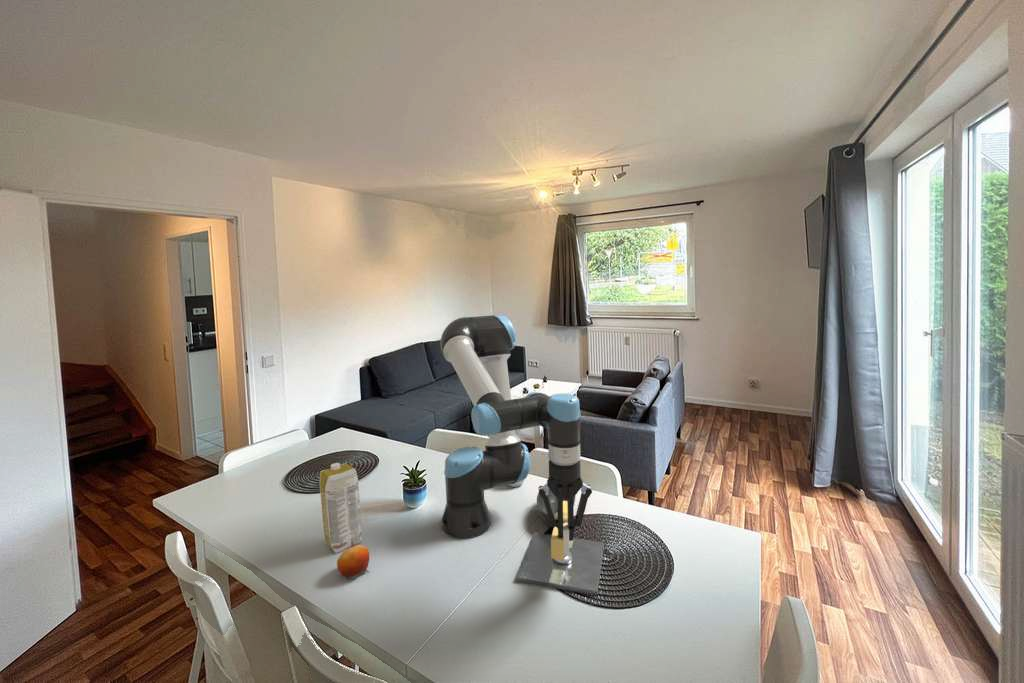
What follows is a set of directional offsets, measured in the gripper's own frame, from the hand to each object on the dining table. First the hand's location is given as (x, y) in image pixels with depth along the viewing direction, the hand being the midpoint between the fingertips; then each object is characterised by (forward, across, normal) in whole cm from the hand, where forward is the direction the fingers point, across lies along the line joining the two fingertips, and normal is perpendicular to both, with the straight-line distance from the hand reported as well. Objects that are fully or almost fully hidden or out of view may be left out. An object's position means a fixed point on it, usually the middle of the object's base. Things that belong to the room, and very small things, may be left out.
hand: (566, 551), depth 105 cm
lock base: (+8, 0, +8) cm, 12 cm away
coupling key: (+1, 0, +8) cm, 8 cm away
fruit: (+9, -55, +5) cm, 56 cm away
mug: (+9, -16, +54) cm, 57 cm away
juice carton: (+8, -63, +18) cm, 66 cm away
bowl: (+9, 0, +32) cm, 33 cm away
